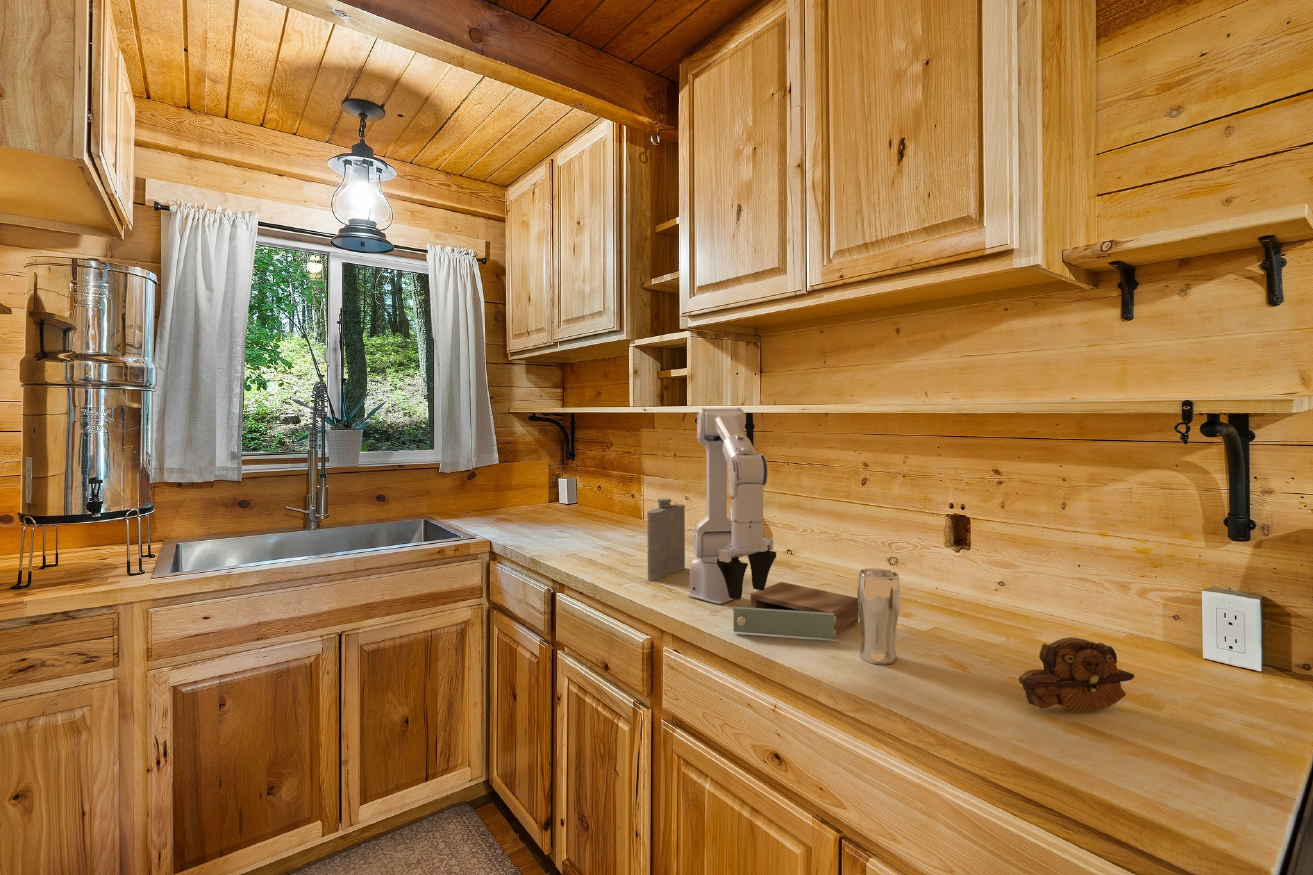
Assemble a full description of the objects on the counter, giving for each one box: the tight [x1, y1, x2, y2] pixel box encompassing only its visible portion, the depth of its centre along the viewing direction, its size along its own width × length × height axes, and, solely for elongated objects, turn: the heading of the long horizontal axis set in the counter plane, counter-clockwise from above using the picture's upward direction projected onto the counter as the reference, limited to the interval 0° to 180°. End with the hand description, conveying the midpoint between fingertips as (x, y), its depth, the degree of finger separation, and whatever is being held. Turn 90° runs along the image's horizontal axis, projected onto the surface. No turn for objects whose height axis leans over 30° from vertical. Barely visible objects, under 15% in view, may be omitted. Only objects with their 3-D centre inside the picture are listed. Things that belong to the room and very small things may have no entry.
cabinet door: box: [733, 606, 837, 640], centre depth 118 cm, size 19×2×5 cm, turn 77°
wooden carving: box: [1018, 636, 1135, 713], centre depth 89 cm, size 16×5×10 cm, turn 101°
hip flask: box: [646, 497, 686, 582], centre depth 165 cm, size 16×4×20 cm, turn 148°
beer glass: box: [856, 567, 901, 666], centre depth 108 cm, size 7×7×15 cm
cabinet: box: [750, 581, 859, 636], centre depth 128 cm, size 18×12×5 cm, turn 47°
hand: (747, 593), depth 115 cm, fingers open, 7 cm apart
